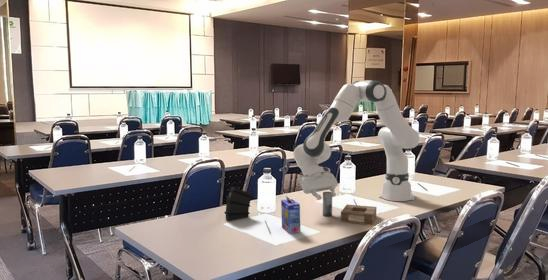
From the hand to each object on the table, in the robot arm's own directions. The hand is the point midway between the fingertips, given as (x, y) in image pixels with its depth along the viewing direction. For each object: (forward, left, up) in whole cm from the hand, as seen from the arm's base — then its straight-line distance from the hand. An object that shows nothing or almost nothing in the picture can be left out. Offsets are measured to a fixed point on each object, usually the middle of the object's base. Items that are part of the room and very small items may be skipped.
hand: (327, 197), depth 214 cm
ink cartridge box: (+26, -10, -9) cm, 29 cm away
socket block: (+1, +15, -9) cm, 18 cm away
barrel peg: (0, 0, -9) cm, 9 cm away
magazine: (+17, -38, -9) cm, 42 cm away
